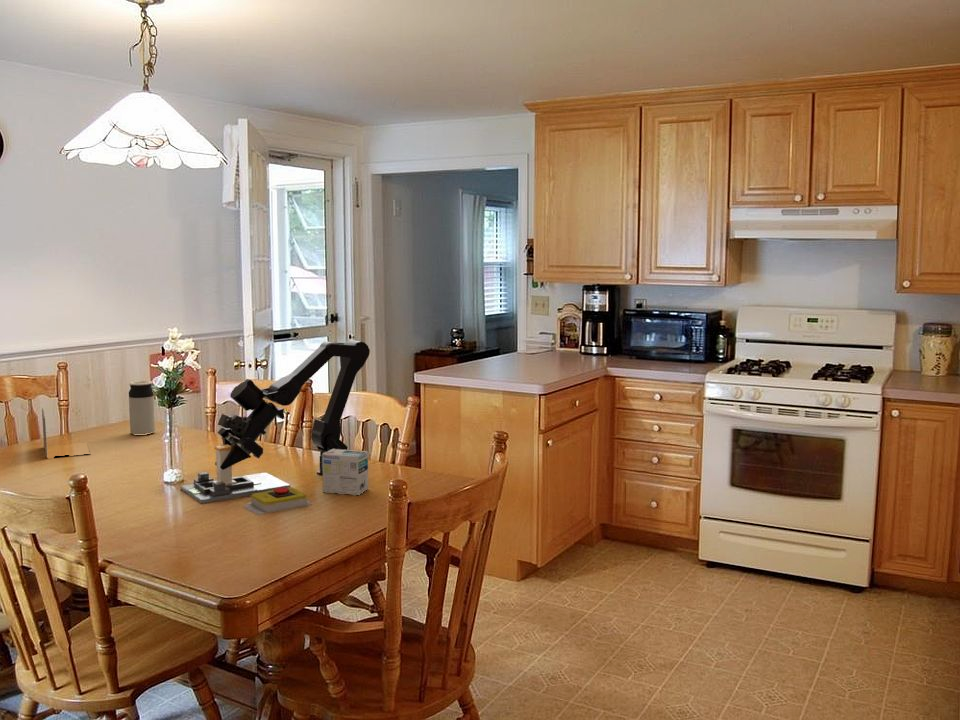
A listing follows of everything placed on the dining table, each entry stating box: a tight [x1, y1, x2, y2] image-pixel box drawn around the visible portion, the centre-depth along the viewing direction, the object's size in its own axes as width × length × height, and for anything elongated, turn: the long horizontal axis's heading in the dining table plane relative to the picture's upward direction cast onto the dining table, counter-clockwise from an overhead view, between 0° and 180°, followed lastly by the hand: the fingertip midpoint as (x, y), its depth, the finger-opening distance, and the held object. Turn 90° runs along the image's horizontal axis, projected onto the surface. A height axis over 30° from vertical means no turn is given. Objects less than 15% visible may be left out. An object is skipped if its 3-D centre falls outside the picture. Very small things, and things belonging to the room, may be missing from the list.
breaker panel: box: [180, 471, 291, 505], centre depth 226 cm, size 24×16×4 cm, turn 127°
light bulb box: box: [322, 449, 370, 496], centre depth 225 cm, size 11×7×11 cm, turn 74°
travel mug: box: [128, 380, 156, 435], centre depth 293 cm, size 8×8×18 cm
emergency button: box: [243, 486, 313, 516], centre depth 213 cm, size 9×4×15 cm
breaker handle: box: [213, 444, 236, 486], centre depth 224 cm, size 5×4×11 cm
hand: (218, 467), depth 223 cm, fingers open, 3 cm apart
